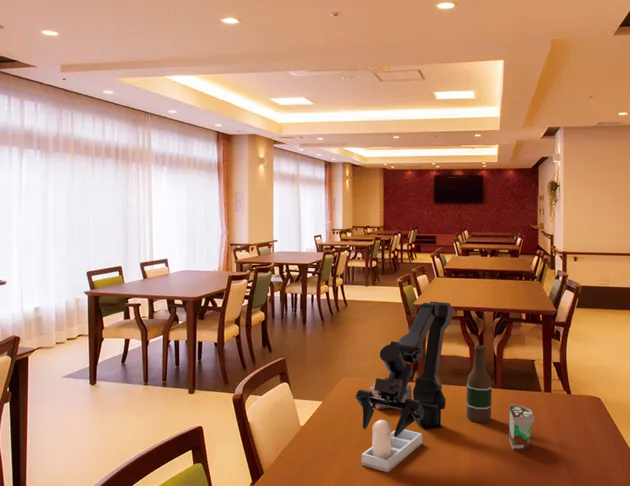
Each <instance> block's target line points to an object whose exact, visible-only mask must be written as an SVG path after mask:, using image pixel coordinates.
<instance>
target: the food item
mask: <svg viewBox="0 0 630 486" xmlns="http://www.w3.org/2000/svg"><path fill="white" fill-rule="evenodd" d="M374 386H375V382H374V383H372V386H370V387H369V391H371V392H372V393H373V395H374V397H378V398H381V395H379V394H378V391H377V390H374ZM406 390H407V394H404V396H403V399H402V402H403V403H404V402H405V400H406V399H412V396H413V395H412V385H411V384H410V382H408V385H407V388H406ZM412 400H413V399H412ZM374 408H376V409H377V410H386V409H392V408H391V407H386V406H381V405H377V404H376V406H375V407H374Z"/></svg>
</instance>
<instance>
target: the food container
mask: <svg viewBox="0 0 630 486" xmlns="http://www.w3.org/2000/svg"><path fill="white" fill-rule="evenodd" d="M508 411H509V412H508V413H509V415H508V416H509V417H508V419H509V420H508V421H509V422H508V438H509V442H510V446H511V448H512V451H514V452H517V451H518V452H520V451H519V450H521V451H524V450H525V451H526V450H527V449H529V448H530V442H531V434H532V424H533V423H534V422H535V416H534V414H533V411H532V410H531V409H530V408H528V407H526V406H522V405H519V404H515V403H514V404H513V403H510V404H509V405H508ZM515 450H516V451H515Z"/></svg>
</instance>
